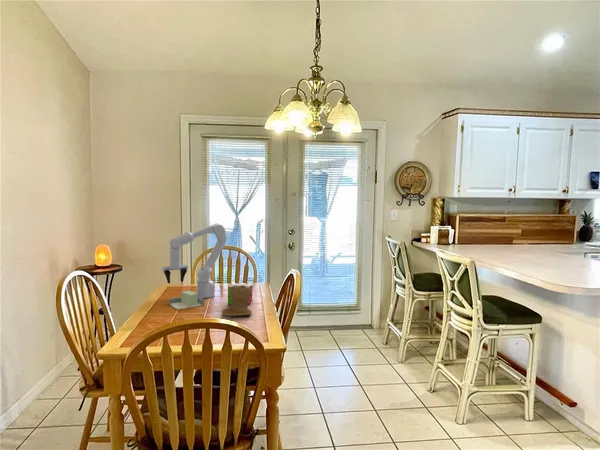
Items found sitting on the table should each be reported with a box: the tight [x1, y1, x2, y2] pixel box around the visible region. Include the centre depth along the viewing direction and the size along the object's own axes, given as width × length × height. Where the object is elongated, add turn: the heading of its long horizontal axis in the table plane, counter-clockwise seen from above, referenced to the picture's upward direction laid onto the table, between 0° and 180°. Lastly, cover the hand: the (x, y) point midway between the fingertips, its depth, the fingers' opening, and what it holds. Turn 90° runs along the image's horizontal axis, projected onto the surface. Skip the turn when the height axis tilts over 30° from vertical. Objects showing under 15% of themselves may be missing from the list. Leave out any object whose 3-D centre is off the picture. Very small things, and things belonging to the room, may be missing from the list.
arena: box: [168, 296, 205, 310], centre depth 212 cm, size 15×12×3 cm
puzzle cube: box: [227, 282, 253, 306], centre depth 216 cm, size 10×10×10 cm
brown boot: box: [221, 284, 253, 317], centre depth 197 cm, size 15×12×15 cm
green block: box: [180, 290, 197, 306], centre depth 212 cm, size 9×4×6 cm, turn 47°
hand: (175, 282), depth 223 cm, fingers open, 7 cm apart
